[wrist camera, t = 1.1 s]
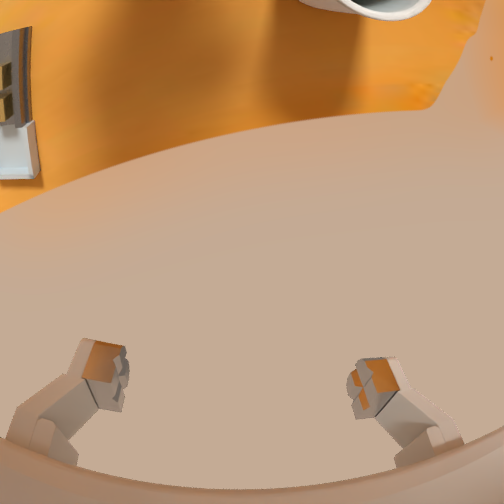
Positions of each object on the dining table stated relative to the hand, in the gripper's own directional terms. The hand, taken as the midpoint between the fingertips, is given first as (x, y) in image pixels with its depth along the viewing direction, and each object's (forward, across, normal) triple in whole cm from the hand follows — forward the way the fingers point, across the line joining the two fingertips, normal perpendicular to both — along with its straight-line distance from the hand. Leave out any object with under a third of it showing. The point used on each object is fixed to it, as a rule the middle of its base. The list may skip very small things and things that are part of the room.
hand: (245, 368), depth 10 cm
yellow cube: (+37, +40, -6) cm, 55 cm away
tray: (+40, +40, +2) cm, 57 cm away
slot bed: (+37, +40, -11) cm, 55 cm away
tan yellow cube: (+36, +39, -12) cm, 54 cm away
